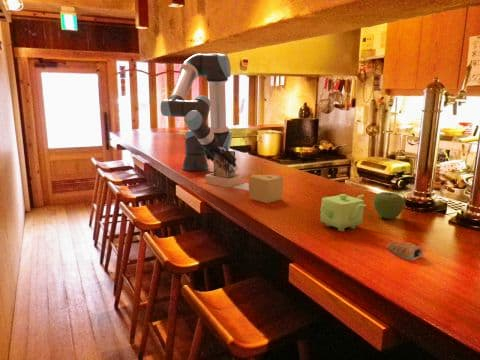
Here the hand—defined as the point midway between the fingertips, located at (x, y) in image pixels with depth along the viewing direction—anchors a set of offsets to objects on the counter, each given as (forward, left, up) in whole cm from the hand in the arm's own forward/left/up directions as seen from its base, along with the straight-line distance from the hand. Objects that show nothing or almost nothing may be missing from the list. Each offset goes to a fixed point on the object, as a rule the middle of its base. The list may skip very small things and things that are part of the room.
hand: (228, 168), depth 190 cm
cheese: (+15, +32, -7) cm, 36 cm away
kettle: (+27, +71, -7) cm, 76 cm away
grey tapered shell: (+38, +94, -7) cm, 101 cm away
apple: (+7, +80, -7) cm, 81 cm away
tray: (+3, 0, -7) cm, 8 cm away
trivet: (+3, +15, -7) cm, 17 cm away
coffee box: (+3, 0, -7) cm, 8 cm away
